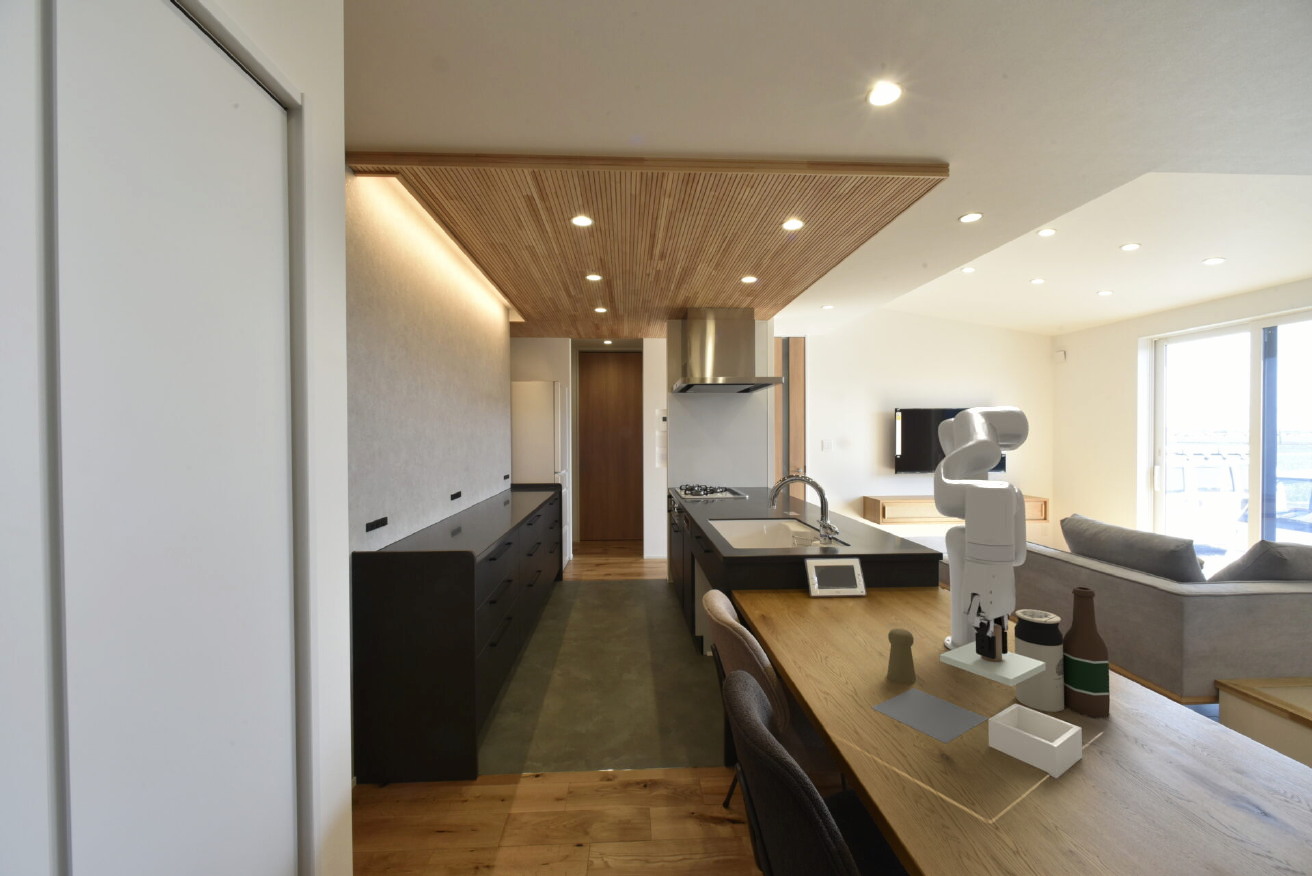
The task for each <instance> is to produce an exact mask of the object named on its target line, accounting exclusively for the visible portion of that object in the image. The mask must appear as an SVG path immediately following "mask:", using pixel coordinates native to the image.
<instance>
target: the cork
mask: <svg viewBox="0 0 1312 876" xmlns="http://www.w3.org/2000/svg"><path fill="white" fill-rule="evenodd" d="M887 638H888V642H889V643H890V649H889V650H890V651H889V657H888V658H889V659H888V666H887V674H886V675H887V678H888V679H889V680H891V681H894V682H895V683H899V684H907V685H909V684H914V683H916V682H917V677H916V671H915V665H914V659H913V658H914V657H913V652H912V646H913V644H914V642H915V641H914V639H915V638H914V636H913V634H912V632H911V631H909V630H907V629H903V628H893V629H890V631H889V632H888V635H887Z"/></svg>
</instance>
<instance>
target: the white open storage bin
mask: <svg viewBox="0 0 1312 876" xmlns="http://www.w3.org/2000/svg"><path fill="white" fill-rule="evenodd" d="M987 720H988V721H987V722H988V746H989V747H991V748H993V749H995V750H997V751H998V752H999V751H1000V752H1002V753H1004V754H1006V755H1009V756H1010V757H1013V758H1014V759H1017V760H1020V761H1021V762H1024V763H1026V764H1028V765H1031V766H1033V767H1035V768H1037V769H1040V770H1041V771H1044V772H1046V773H1047V776H1050V777H1053V778H1054V779H1058V778H1059V777H1061V776H1062V775H1063V774H1064V773H1066V772H1067V771H1068V770H1069V769H1070V768H1071V767H1072V766H1074V765H1075V764H1076V763H1077V762H1079V761H1080V760H1081V759H1083V743H1082V741H1083V739H1082V738H1083V737H1082V736H1083V734H1082V727H1081V726H1078V725H1075V724H1072V723H1070V722H1066V721H1064V720H1062V719H1059V718H1056V717H1053V716H1052V715H1051V716H1050V715H1049V714H1045V713H1044V712H1041V711H1040V712H1039V711H1038V710H1034V709H1032V708H1031V707H1028V706H1027V707H1026V706H1024V705H1021V704H1018V703H1014V704H1011V705H1010V706H1008V707H1007V708H1005V709H1003V710H1002V711H1000V712H998V713H996V714H995V715H993V716H992V717H990V718H989V719H987Z"/></svg>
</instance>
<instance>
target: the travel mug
mask: <svg viewBox="0 0 1312 876" xmlns="http://www.w3.org/2000/svg"><path fill="white" fill-rule="evenodd" d="M1015 616H1016V617H1017V623H1016V624H1015V626H1014V628H1013V629H1014V631H1013V632H1014V653H1015V654H1019V655H1022V656H1025V657H1028V658H1032V659H1035V660H1038V661H1041V662H1045V663H1046V670H1044V671H1042V672H1040V673H1038V674H1036V675H1034V676H1032V677H1030V678H1028V679H1026V680H1024V681H1022V682H1019V683H1017V684H1015V698H1016V700H1017V701H1018V702H1020V703H1022V704H1023V705H1025V706H1027V707H1028V708H1031V709H1032V708H1033V709H1036V710H1039V711H1044V712H1052V713H1053V712H1055V713H1056V712H1061V711H1063V710H1065V706H1064V670H1063V638H1064V635H1063V633H1062V631H1061V630H1060V628H1059V625H1060V622H1062V619H1061V617H1060V616H1058V615H1056V614H1055V613H1051V612H1048V611H1043V610H1038V609H1029V608H1028V609H1019V610H1016V611H1015Z"/></svg>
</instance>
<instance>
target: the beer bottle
mask: <svg viewBox="0 0 1312 876" xmlns="http://www.w3.org/2000/svg"><path fill="white" fill-rule="evenodd" d="M1071 594H1073V605H1072V606H1073V609H1072V622H1071V626H1070V627H1069V628H1068V629H1066V631H1065V633H1064V635H1063V670H1064V708H1067V709H1068V710H1070V711H1072V712H1073V713H1075V714H1078V715H1082V716H1085V717H1089V718H1093V719H1101V718H1102V719H1104V718H1109V717H1110V708H1111V707H1110V704H1111V703H1110V702H1111V698H1110V697H1111V696H1110V693H1111V692H1110V664H1109V663H1110V661H1109V660H1110V659H1109V657H1110V656H1109V647H1108V644H1107V642H1106V640H1105V637H1103V635H1102V633H1101V632H1100V631H1099V629H1098V626H1097V623H1096V621H1097V620H1096V613H1095V611H1096V610H1095V603H1094V597H1096V593H1095V591H1094V589H1093V588H1089V587H1087V586H1085V587H1084V586H1074V587H1073V588H1072V591H1071Z"/></svg>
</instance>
